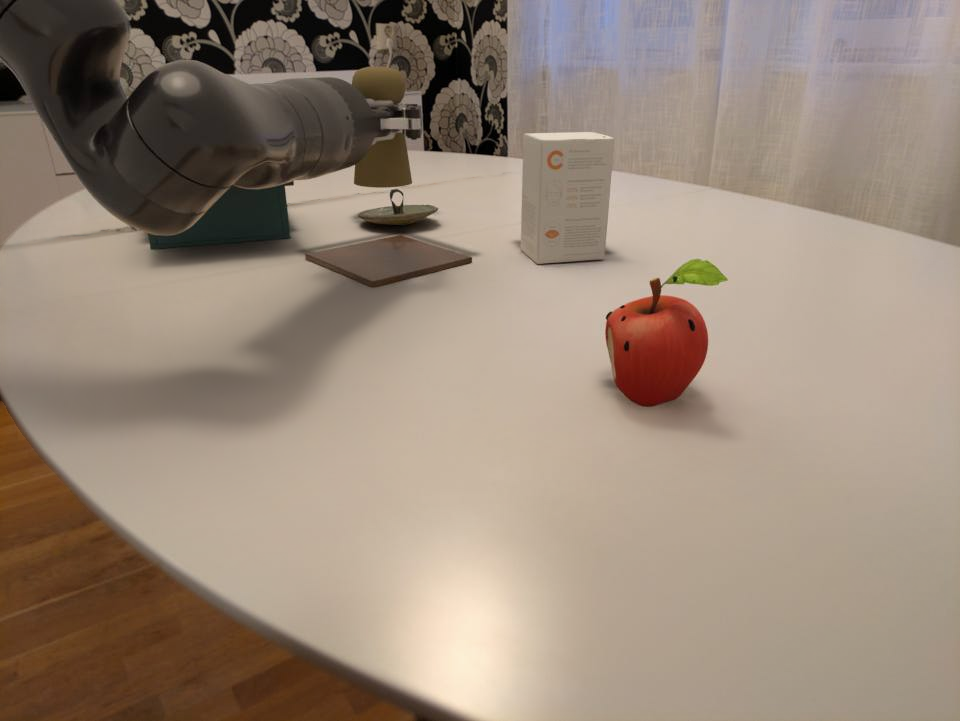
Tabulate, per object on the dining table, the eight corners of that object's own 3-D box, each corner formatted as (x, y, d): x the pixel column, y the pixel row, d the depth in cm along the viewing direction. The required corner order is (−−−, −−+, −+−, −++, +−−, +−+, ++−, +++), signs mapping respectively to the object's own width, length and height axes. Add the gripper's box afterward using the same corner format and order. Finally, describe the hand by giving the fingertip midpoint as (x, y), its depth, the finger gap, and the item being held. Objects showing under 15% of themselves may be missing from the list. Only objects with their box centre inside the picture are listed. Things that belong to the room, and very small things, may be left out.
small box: (583, 246, 80) (592, 130, 74) (605, 260, 74) (616, 137, 69) (518, 249, 78) (522, 132, 72) (535, 265, 72) (541, 138, 67)
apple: (576, 403, 44) (588, 254, 40) (618, 367, 49) (633, 231, 45) (693, 438, 40) (720, 277, 36) (725, 394, 45) (752, 249, 41)
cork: (357, 188, 66) (349, 66, 62) (350, 179, 71) (343, 66, 67) (417, 186, 68) (414, 67, 63) (406, 177, 73) (403, 66, 68)
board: (373, 287, 65) (372, 281, 65) (305, 259, 74) (304, 253, 73) (472, 262, 73) (472, 257, 73) (400, 239, 82) (400, 234, 82)
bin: (150, 249, 77) (137, 182, 74) (155, 223, 88) (144, 164, 85) (290, 238, 82) (283, 175, 79) (278, 214, 93) (271, 159, 90)
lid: (412, 248, 84) (421, 209, 81) (342, 221, 85) (349, 183, 83) (442, 232, 93) (451, 197, 91) (379, 208, 95) (386, 174, 92)
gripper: (390, 79, 51) (456, 76, 66) (226, 76, 54) (325, 73, 70) (394, 180, 54) (456, 155, 69) (238, 171, 57) (331, 149, 73)
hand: (390, 114), depth 69 cm, fingers closed on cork, 4 cm apart
